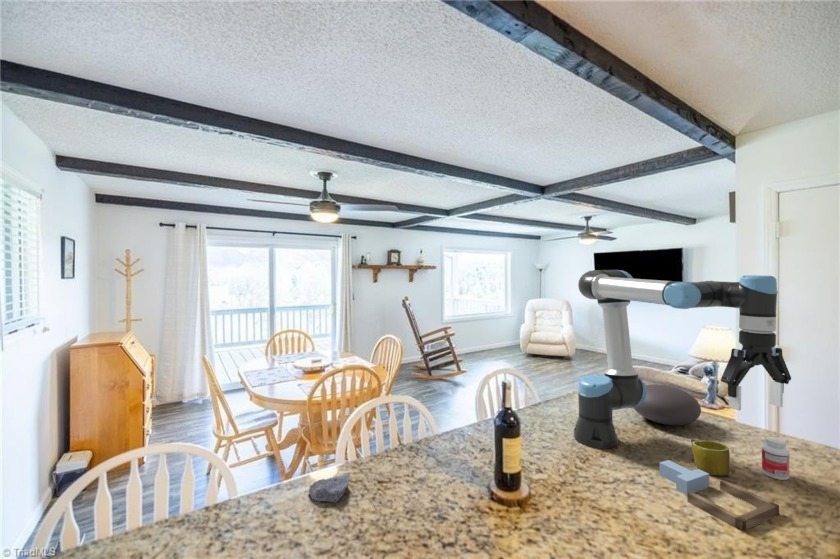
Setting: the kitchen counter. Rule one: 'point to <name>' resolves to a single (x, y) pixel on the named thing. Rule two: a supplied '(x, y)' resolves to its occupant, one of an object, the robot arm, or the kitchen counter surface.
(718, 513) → the bay
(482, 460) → the kitchen counter surface
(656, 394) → the smooth stone
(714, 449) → the mug
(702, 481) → the blue t-shaped block
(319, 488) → the rock
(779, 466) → the pill bottle
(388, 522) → the kitchen counter surface
